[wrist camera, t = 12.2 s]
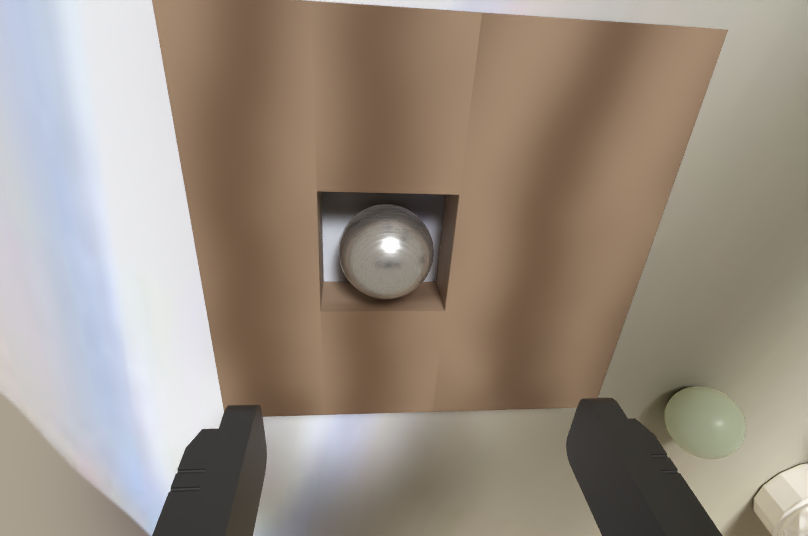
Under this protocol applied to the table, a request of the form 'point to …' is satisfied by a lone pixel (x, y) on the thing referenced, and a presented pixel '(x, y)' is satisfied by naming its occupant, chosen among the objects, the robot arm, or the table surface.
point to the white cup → (785, 503)
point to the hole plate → (425, 174)
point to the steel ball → (386, 251)
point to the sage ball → (705, 422)
